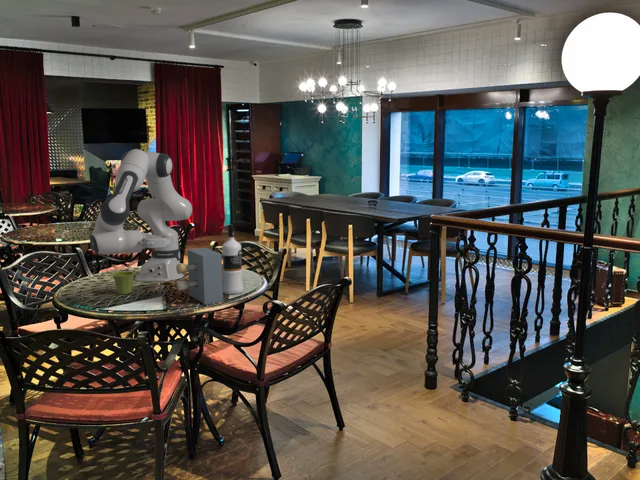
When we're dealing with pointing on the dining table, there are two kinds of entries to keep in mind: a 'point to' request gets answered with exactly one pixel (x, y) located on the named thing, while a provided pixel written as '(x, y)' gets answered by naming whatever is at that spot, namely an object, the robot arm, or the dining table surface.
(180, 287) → the knob lower
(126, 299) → the dining table surface
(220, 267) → the console
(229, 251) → the vodka
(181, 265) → the knob upper
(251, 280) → the dining table surface
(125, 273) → the plant pot
